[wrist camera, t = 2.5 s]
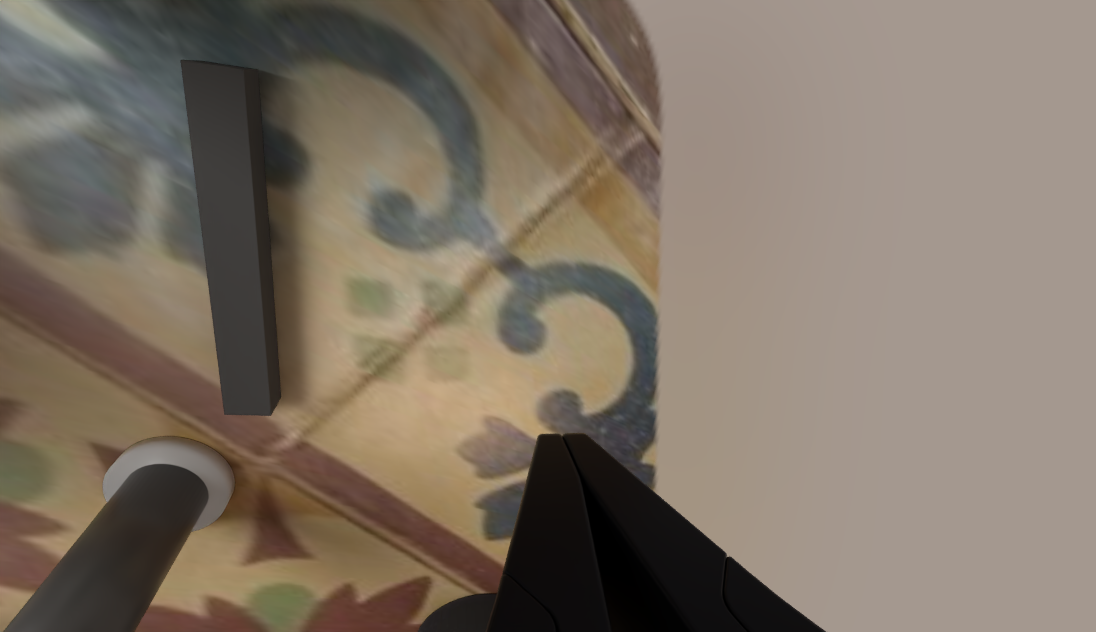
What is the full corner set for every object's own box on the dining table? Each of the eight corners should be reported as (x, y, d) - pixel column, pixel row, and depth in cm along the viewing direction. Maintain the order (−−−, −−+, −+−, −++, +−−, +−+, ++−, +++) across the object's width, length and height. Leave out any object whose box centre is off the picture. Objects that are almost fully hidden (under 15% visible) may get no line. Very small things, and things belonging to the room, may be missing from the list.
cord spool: (242, 516, 23) (107, 799, 14) (128, 522, 22) (-93, 828, 13) (226, 434, 21) (60, 700, 12) (102, 437, 20) (-176, 726, 11)
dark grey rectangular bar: (283, 392, 21) (271, 415, 20) (240, 391, 21) (224, 414, 19) (261, 69, 16) (243, 69, 15) (205, 61, 16) (180, 60, 15)
